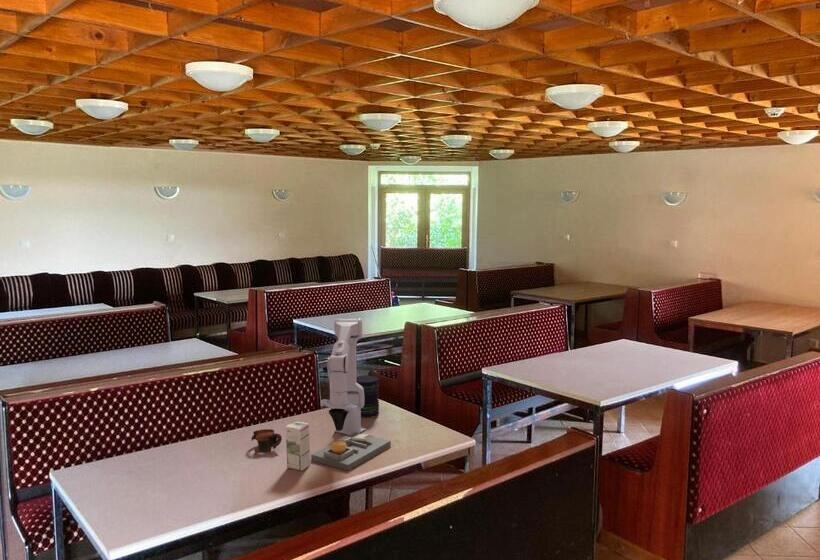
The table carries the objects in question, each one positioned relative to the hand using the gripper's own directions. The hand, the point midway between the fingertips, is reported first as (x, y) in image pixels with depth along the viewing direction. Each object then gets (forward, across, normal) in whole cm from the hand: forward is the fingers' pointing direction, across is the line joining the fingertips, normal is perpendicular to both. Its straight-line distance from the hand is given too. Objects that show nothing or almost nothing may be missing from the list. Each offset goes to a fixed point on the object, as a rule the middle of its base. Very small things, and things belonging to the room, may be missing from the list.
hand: (339, 429), depth 204 cm
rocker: (+7, 0, +12) cm, 14 cm away
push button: (+7, 0, -1) cm, 7 cm away
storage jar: (+11, -20, +42) cm, 47 cm away
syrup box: (+11, -8, -12) cm, 18 cm away
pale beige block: (+8, -3, +6) cm, 11 cm away
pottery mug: (+11, -28, -6) cm, 31 cm away
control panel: (+10, 0, +6) cm, 12 cm away
